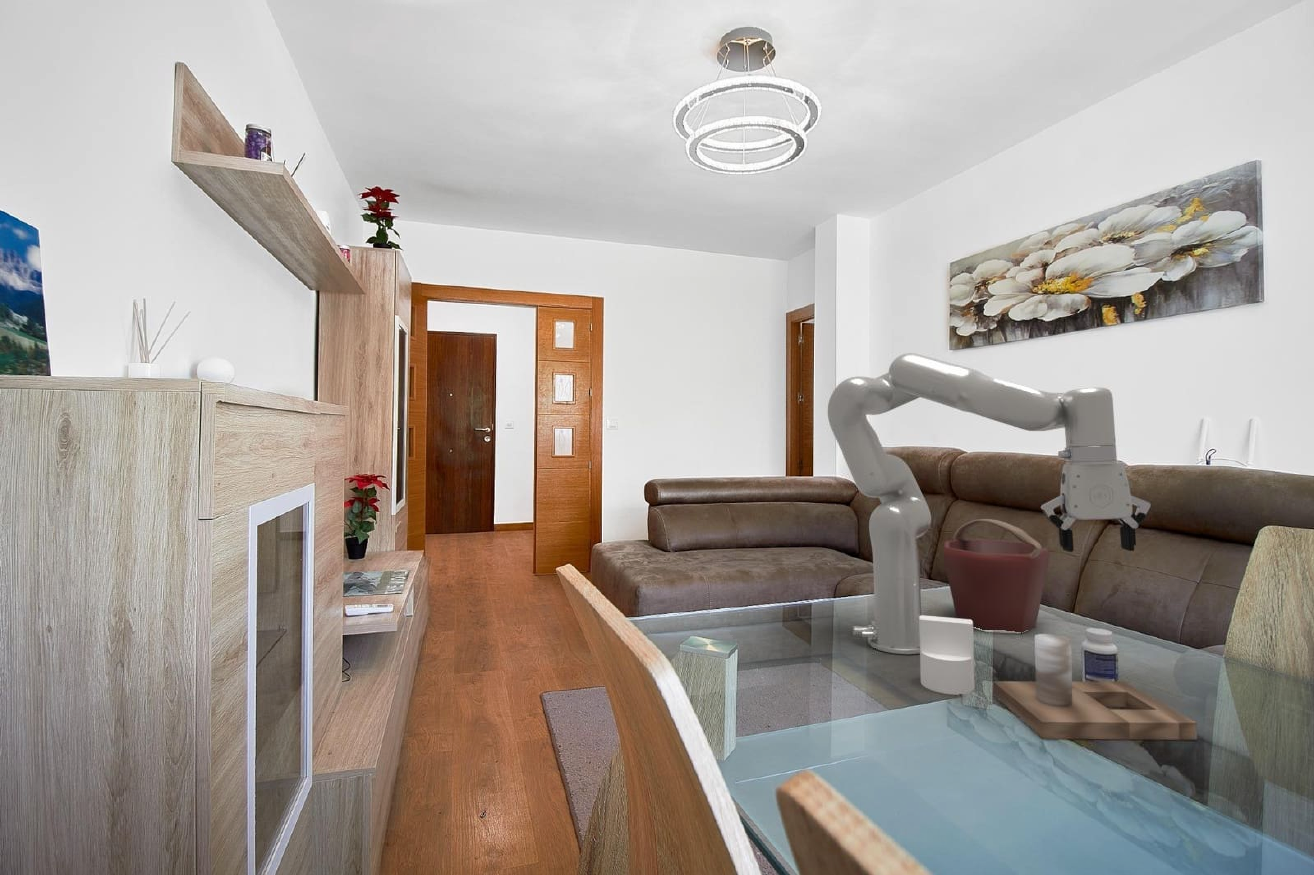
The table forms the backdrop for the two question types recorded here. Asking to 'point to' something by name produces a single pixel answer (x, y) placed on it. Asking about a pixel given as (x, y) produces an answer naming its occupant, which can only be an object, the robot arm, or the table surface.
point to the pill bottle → (1099, 656)
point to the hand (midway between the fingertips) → (1097, 550)
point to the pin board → (1086, 702)
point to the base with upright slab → (946, 654)
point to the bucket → (996, 578)
